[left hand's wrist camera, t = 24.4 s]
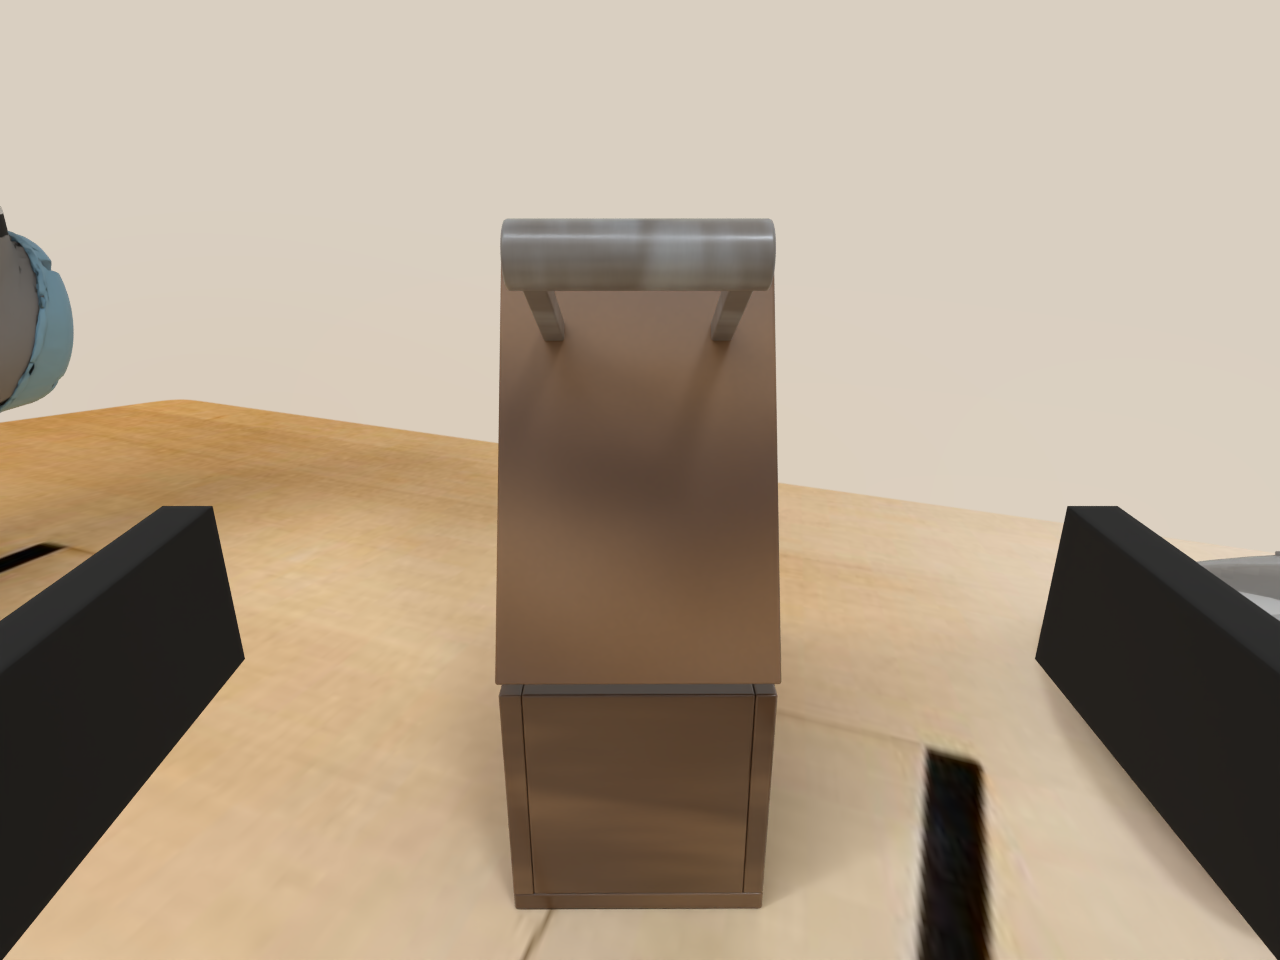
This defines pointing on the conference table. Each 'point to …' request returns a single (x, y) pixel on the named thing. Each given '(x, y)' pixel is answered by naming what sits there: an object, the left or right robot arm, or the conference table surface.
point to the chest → (638, 793)
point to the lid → (637, 453)
